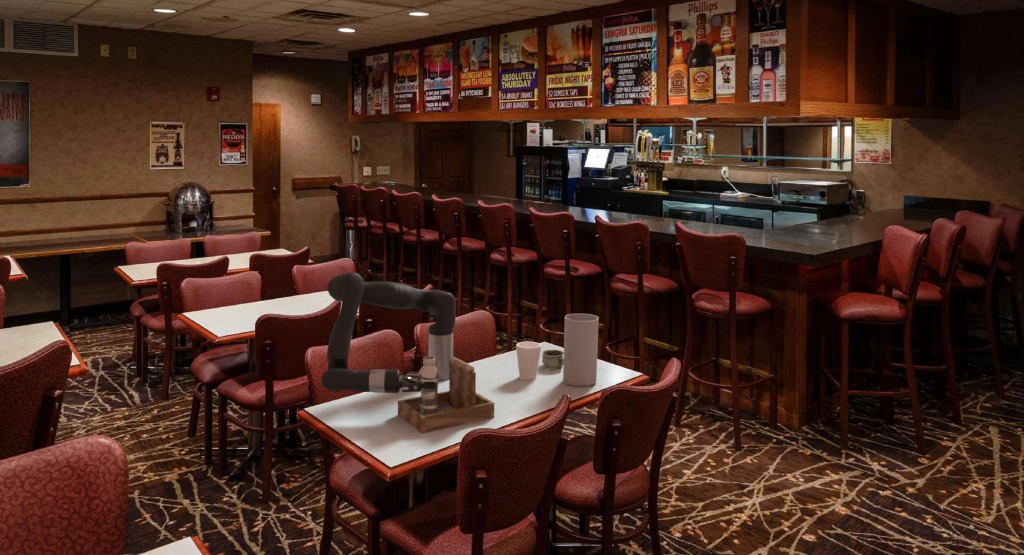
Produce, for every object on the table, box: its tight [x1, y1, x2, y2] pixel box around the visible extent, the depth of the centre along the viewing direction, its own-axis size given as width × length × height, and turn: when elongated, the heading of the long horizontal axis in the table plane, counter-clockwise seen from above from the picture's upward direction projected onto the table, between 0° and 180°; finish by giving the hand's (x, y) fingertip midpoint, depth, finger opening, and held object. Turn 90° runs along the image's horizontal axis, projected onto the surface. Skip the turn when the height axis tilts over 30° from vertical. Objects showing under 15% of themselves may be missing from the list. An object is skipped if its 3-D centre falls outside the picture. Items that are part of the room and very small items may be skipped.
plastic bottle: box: [418, 356, 441, 416], centre depth 243 cm, size 6×7×20 cm
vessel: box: [541, 349, 564, 371], centre depth 300 cm, size 12×9×6 cm
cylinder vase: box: [562, 313, 600, 388], centre depth 281 cm, size 12×12×25 cm
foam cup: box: [515, 341, 542, 381], centre depth 286 cm, size 10×9×13 cm
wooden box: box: [397, 356, 495, 434], centre depth 244 cm, size 18×26×18 cm
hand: (436, 381), depth 243 cm, fingers closed on plastic bottle, 6 cm apart
